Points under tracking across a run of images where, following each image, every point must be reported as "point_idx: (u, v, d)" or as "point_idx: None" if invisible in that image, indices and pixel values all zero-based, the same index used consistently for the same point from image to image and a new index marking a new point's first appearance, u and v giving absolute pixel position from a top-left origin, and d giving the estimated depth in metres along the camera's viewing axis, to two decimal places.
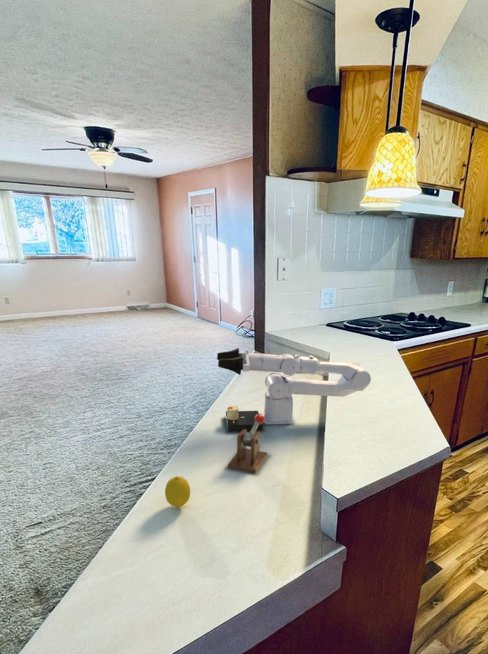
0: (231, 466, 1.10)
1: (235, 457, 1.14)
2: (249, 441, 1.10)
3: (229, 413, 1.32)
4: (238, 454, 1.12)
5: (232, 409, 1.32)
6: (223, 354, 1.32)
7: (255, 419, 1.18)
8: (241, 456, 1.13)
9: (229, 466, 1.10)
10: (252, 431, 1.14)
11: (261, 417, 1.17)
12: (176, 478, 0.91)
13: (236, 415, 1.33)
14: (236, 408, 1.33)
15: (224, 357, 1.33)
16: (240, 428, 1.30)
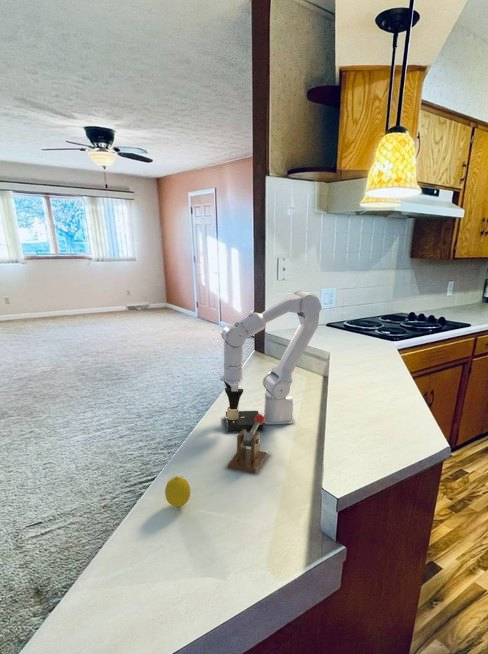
0: (231, 466, 1.10)
1: (235, 457, 1.14)
2: (249, 441, 1.10)
3: (229, 413, 1.32)
4: (238, 454, 1.12)
5: (232, 409, 1.32)
6: None
7: (255, 419, 1.18)
8: (241, 456, 1.13)
9: (229, 466, 1.10)
10: (252, 431, 1.14)
11: (261, 417, 1.17)
12: (176, 478, 0.91)
13: (236, 415, 1.33)
14: None
15: None
16: (240, 428, 1.30)
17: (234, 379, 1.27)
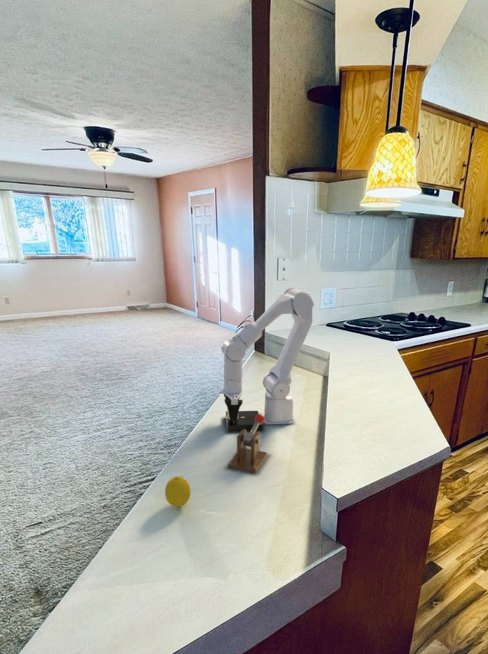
0: (231, 466, 1.10)
1: (235, 457, 1.14)
2: (249, 441, 1.10)
3: None
4: (238, 454, 1.12)
5: None
6: None
7: (255, 419, 1.18)
8: (241, 456, 1.13)
9: (229, 466, 1.10)
10: (252, 431, 1.14)
11: (261, 417, 1.17)
12: (176, 478, 0.91)
13: None
14: None
15: None
16: (240, 428, 1.30)
17: (234, 392, 1.28)
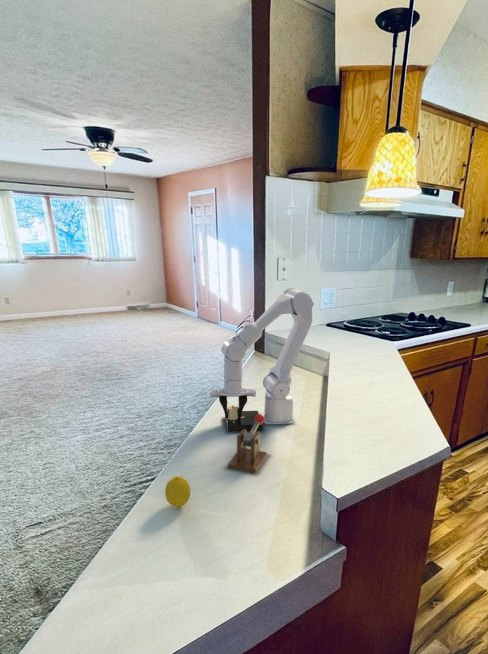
0: (231, 466, 1.10)
1: (235, 457, 1.14)
2: (249, 441, 1.10)
3: None
4: (238, 454, 1.12)
5: (229, 408, 1.33)
6: (238, 410, 1.35)
7: (255, 419, 1.18)
8: (241, 456, 1.13)
9: (229, 466, 1.10)
10: (252, 431, 1.14)
11: (261, 417, 1.17)
12: (176, 478, 0.91)
13: (228, 415, 1.33)
14: (232, 409, 1.32)
15: (238, 410, 1.34)
16: (240, 428, 1.30)
17: (224, 390, 1.30)
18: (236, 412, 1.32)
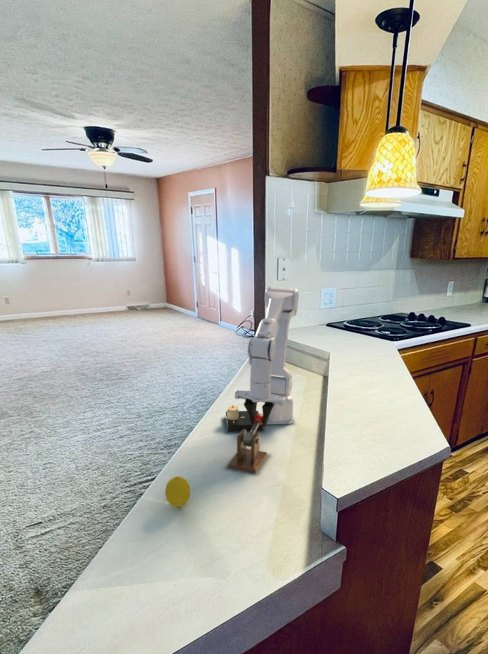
0: (231, 466, 1.10)
1: (235, 457, 1.14)
2: (249, 441, 1.10)
3: None
4: (238, 454, 1.12)
5: (229, 408, 1.33)
6: (253, 418, 1.18)
7: (255, 419, 1.18)
8: (241, 456, 1.13)
9: (229, 466, 1.10)
10: (252, 431, 1.14)
11: (261, 417, 1.17)
12: (176, 478, 0.91)
13: (228, 415, 1.33)
14: (232, 409, 1.32)
15: (254, 416, 1.19)
16: (240, 428, 1.30)
17: (269, 395, 1.15)
18: (236, 412, 1.32)
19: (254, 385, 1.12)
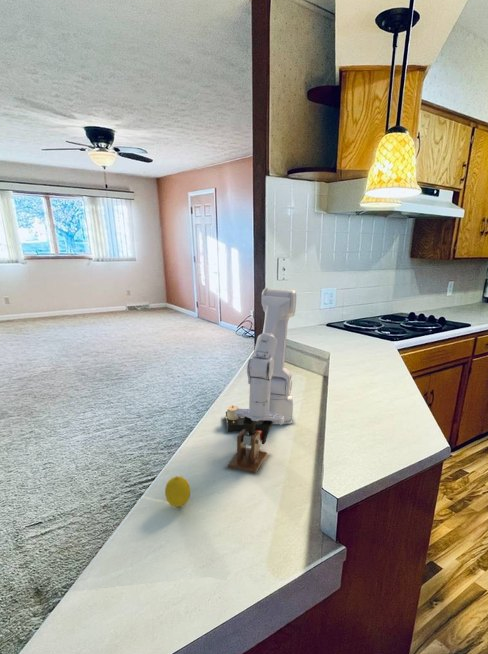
0: (231, 466, 1.10)
1: (235, 457, 1.14)
2: (250, 438, 1.10)
3: None
4: (238, 454, 1.12)
5: (229, 408, 1.33)
6: None
7: None
8: (241, 456, 1.13)
9: (229, 466, 1.10)
10: None
11: (261, 432, 1.20)
12: (176, 478, 0.91)
13: (228, 415, 1.33)
14: (232, 409, 1.32)
15: (253, 433, 1.21)
16: (240, 428, 1.30)
17: (268, 413, 1.17)
18: None
19: (253, 404, 1.14)
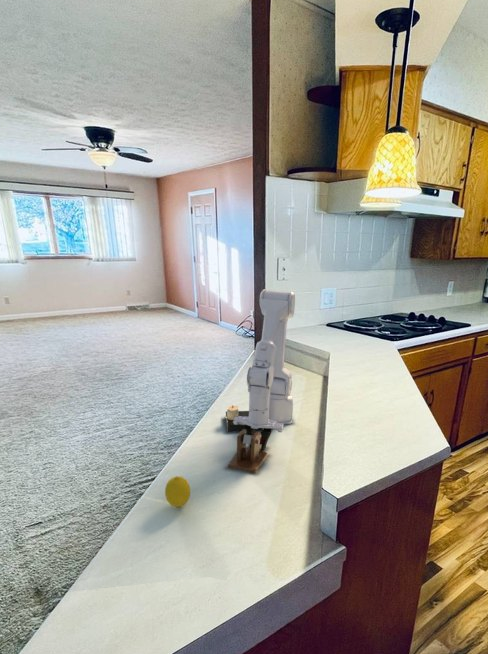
0: (231, 466, 1.10)
1: (235, 457, 1.14)
2: (250, 437, 1.10)
3: None
4: (238, 454, 1.12)
5: (229, 408, 1.33)
6: None
7: None
8: (241, 456, 1.13)
9: (229, 466, 1.10)
10: None
11: (260, 437, 1.20)
12: (176, 478, 0.91)
13: (228, 415, 1.33)
14: (232, 409, 1.32)
15: None
16: (240, 428, 1.30)
17: (268, 421, 1.18)
18: (236, 412, 1.32)
19: (253, 412, 1.15)
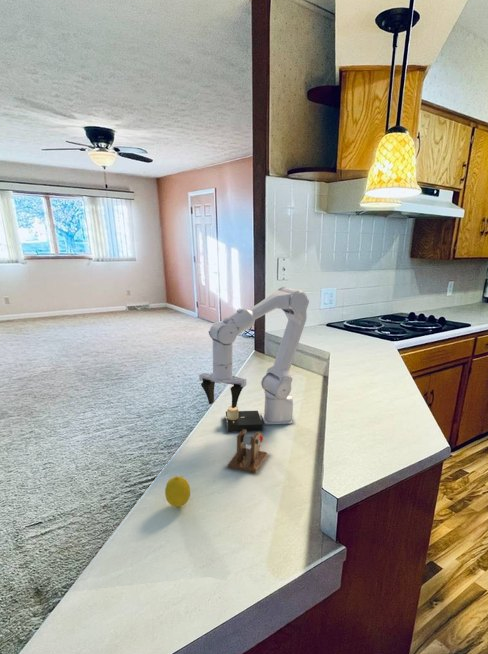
0: (231, 466, 1.10)
1: (235, 457, 1.14)
2: (250, 437, 1.10)
3: None
4: (238, 454, 1.12)
5: (229, 408, 1.33)
6: (210, 398, 1.26)
7: None
8: (241, 456, 1.13)
9: (229, 466, 1.10)
10: None
11: (261, 434, 1.20)
12: (176, 478, 0.91)
13: (228, 415, 1.33)
14: (232, 409, 1.32)
15: (212, 396, 1.27)
16: (240, 428, 1.30)
17: (231, 376, 1.23)
18: (236, 412, 1.32)
19: (216, 367, 1.20)
